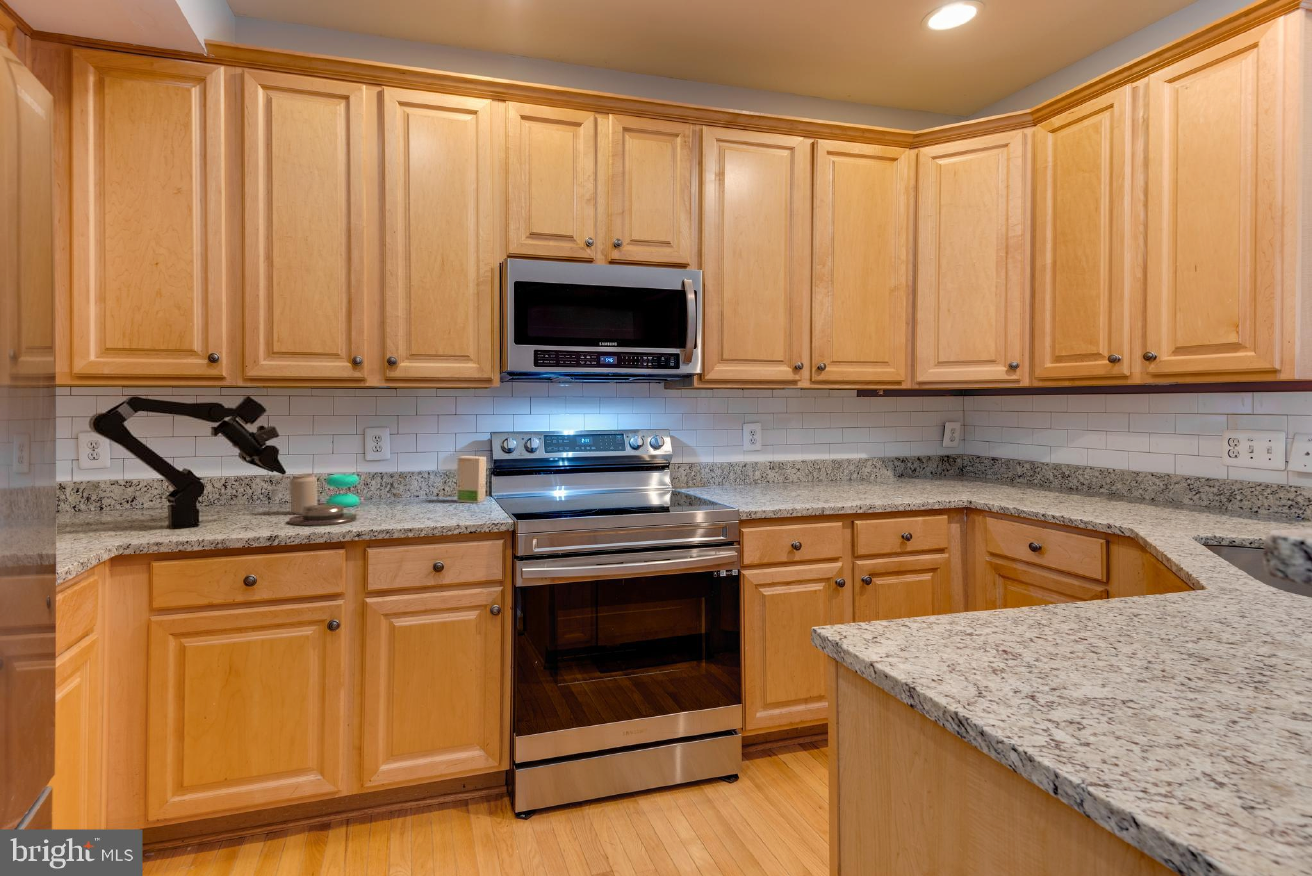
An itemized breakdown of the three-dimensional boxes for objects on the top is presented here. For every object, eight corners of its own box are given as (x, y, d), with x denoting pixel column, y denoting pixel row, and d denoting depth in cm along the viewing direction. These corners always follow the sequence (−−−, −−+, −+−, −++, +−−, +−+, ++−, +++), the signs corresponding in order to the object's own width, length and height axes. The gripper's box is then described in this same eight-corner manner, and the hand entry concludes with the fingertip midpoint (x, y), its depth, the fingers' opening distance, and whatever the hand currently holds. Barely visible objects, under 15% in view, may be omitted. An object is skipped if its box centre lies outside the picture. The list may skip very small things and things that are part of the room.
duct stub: (304, 528, 205) (304, 514, 205) (278, 520, 217) (278, 507, 217) (367, 520, 218) (367, 507, 218) (339, 513, 230) (339, 500, 230)
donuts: (365, 474, 250) (346, 477, 240) (365, 504, 250) (346, 508, 240) (338, 473, 252) (319, 476, 242) (339, 502, 252) (319, 507, 243)
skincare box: (456, 502, 255) (455, 457, 254) (464, 499, 261) (463, 455, 260) (479, 503, 254) (479, 457, 253) (486, 500, 260) (486, 456, 259)
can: (307, 515, 227) (306, 476, 226) (285, 514, 228) (284, 475, 228) (322, 511, 234) (322, 473, 234) (301, 510, 236) (300, 472, 235)
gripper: (271, 417, 213) (311, 455, 222) (250, 415, 226) (288, 451, 235) (241, 445, 208) (283, 482, 216) (221, 442, 221) (261, 477, 230)
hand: (279, 472), depth 224 cm, fingers open, 9 cm apart
